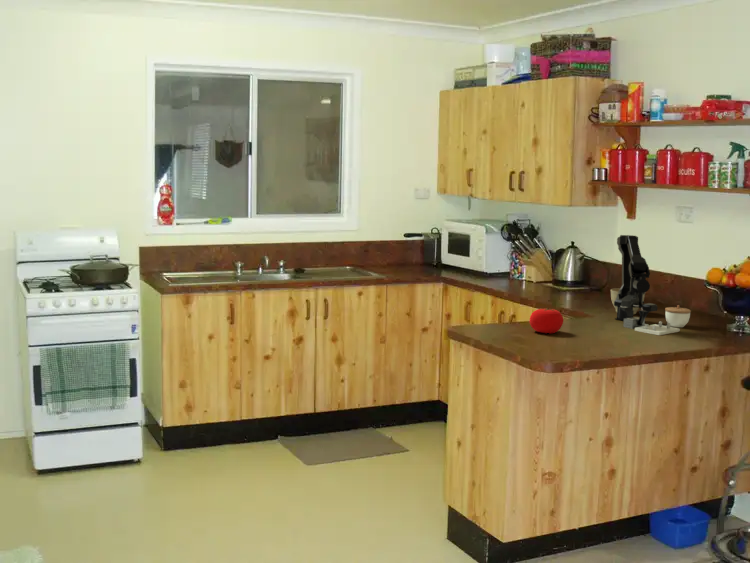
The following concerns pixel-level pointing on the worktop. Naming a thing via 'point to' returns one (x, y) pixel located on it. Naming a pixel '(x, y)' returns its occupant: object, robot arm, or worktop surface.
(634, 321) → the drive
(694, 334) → the worktop surface
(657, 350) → the worktop surface
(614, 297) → the planter bowl
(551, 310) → the tomato
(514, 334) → the worktop surface
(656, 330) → the white peg board
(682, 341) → the worktop surface
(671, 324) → the lidded jar
